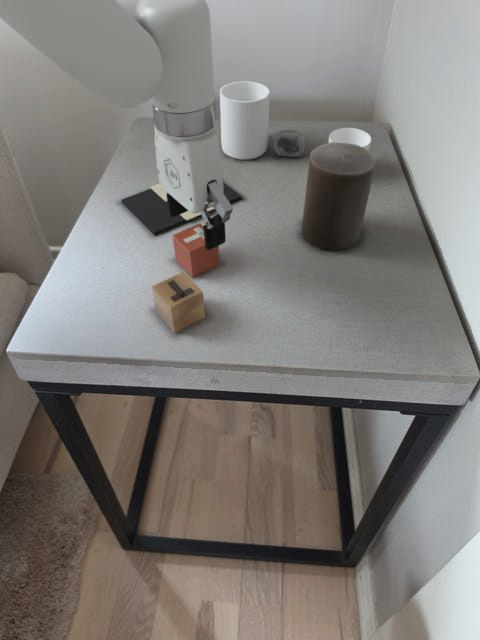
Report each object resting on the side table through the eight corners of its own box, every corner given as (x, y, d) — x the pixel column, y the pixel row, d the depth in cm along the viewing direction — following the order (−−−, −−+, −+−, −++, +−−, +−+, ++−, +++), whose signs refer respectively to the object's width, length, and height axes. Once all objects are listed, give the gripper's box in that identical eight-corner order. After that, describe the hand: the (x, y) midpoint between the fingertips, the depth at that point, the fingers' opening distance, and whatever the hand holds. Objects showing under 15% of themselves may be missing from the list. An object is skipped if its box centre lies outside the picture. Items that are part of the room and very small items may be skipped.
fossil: (272, 158, 97) (273, 135, 94) (272, 150, 100) (273, 126, 96) (304, 159, 97) (307, 135, 93) (303, 150, 99) (305, 126, 96)
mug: (218, 160, 97) (216, 101, 88) (225, 131, 105) (224, 75, 96) (265, 162, 96) (268, 103, 88) (269, 133, 104) (271, 77, 96)
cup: (365, 162, 96) (372, 129, 91) (363, 189, 90) (370, 156, 85) (326, 158, 97) (330, 125, 92) (321, 185, 91) (326, 151, 86)
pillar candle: (318, 257, 77) (331, 172, 66) (291, 223, 83) (299, 140, 72) (371, 243, 79) (392, 158, 68) (341, 210, 85) (356, 128, 74)
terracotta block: (192, 277, 74) (189, 251, 70) (175, 260, 76) (172, 234, 73) (219, 264, 76) (218, 238, 72) (201, 248, 78) (199, 222, 75)
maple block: (174, 333, 66) (170, 307, 62) (156, 311, 69) (151, 286, 65) (205, 317, 68) (203, 291, 64) (186, 297, 71) (183, 271, 67)
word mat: (155, 236, 80) (155, 233, 80) (120, 201, 87) (119, 198, 87) (242, 199, 88) (242, 196, 87) (203, 169, 95) (203, 166, 94)
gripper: (124, 99, 62) (146, 210, 75) (197, 153, 52) (208, 270, 65) (174, 83, 65) (187, 193, 78) (252, 132, 55) (252, 248, 68)
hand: (196, 228), depth 71 cm, fingers open, 9 cm apart
